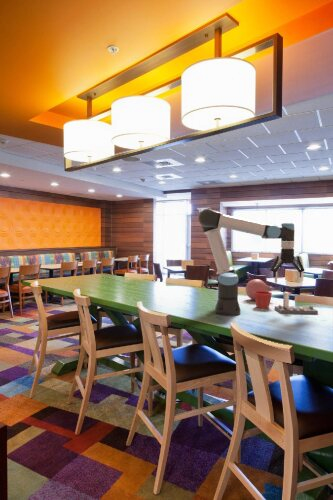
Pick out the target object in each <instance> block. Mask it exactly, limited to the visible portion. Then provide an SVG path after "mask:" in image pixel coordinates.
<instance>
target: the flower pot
mask: <svg viewBox="0 0 333 500" xmlns="http://www.w3.org/2000/svg"><path fill="white" fill-rule="evenodd" d="M254 293H255V300H254V301H255V305H256V307H257V308H259V309H268V308H270V304H271V300H272V295H273V294H272V291H269V292H265V291H256V292H254Z"/></svg>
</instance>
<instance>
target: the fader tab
mask: <svg viewBox="0 0 333 500" xmlns="http://www.w3.org/2000/svg"><path fill="white" fill-rule="evenodd" d="M282 298H283V305H282V306H283V308H286V307H289V306H290V292H288V291H283V297H282Z"/></svg>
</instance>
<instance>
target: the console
mask: <svg viewBox="0 0 333 500" xmlns="http://www.w3.org/2000/svg"><path fill="white" fill-rule="evenodd" d="M274 310H275V311H277V312H278V313H280V314H283V315H284V314H289V315H291V314H292V315H298V314H299V315H319V310H317V309H315V308H314V306H312V305H309V306H294V305H292V306H291V305H289V307H286V308H283V305H281V304H278V306H277V305H275V306H274Z"/></svg>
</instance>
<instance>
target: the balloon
mask: <svg viewBox="0 0 333 500" xmlns="http://www.w3.org/2000/svg"><path fill="white" fill-rule="evenodd" d="M273 290H275V288H274V287H273V286H272V285H268V284H266V283H265V282H264V280H262V279H257V278H256V279H255V278H254V279H251V280H250V281H248V282H247V284H246V286H245V293H246V296H247V297H248V298H249V299H250V300H253V301H256V300H255V293H254V292H256V291H265V292H272V291H273Z"/></svg>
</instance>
